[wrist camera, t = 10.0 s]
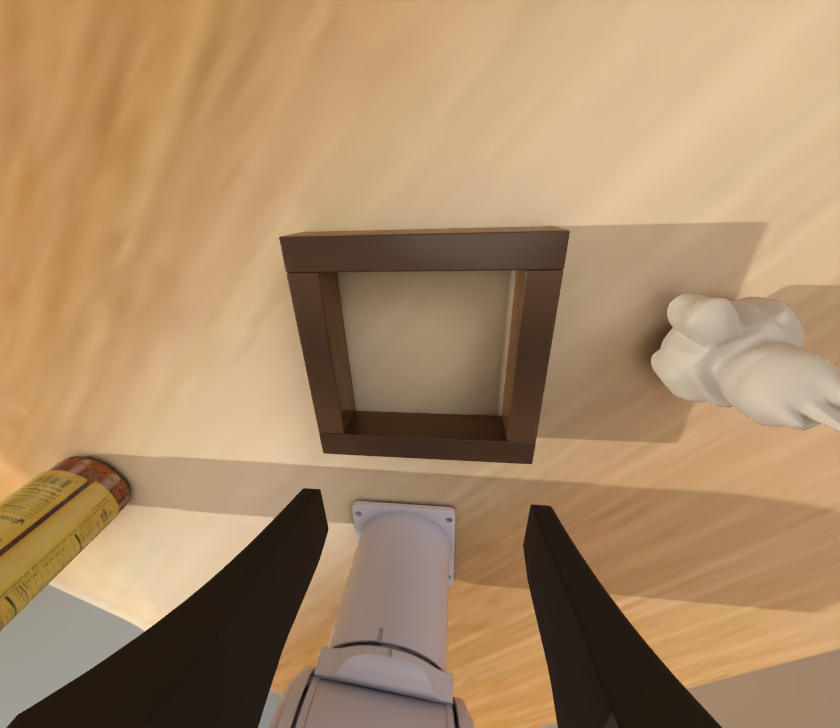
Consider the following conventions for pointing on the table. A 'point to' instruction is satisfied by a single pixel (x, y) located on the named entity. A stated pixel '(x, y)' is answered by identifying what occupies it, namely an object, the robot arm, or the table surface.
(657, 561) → the table surface
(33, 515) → the sauce bottle
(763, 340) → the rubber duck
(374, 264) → the brown wooden square frame
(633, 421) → the table surface
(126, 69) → the table surface
